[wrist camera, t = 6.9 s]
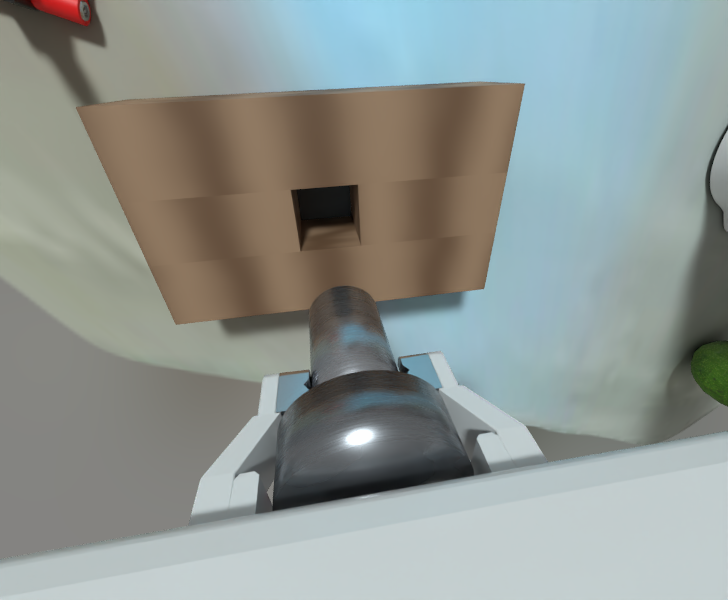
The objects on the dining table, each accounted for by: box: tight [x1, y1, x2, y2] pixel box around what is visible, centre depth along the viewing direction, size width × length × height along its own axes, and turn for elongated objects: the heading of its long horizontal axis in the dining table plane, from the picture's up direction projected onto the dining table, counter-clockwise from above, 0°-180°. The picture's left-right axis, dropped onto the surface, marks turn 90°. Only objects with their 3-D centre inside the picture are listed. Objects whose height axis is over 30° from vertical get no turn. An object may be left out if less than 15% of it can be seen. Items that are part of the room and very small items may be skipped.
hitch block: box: [76, 82, 525, 325], centre depth 24 cm, size 24×14×6 cm, turn 92°
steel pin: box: [272, 286, 474, 511], centre depth 11 cm, size 5×5×8 cm
